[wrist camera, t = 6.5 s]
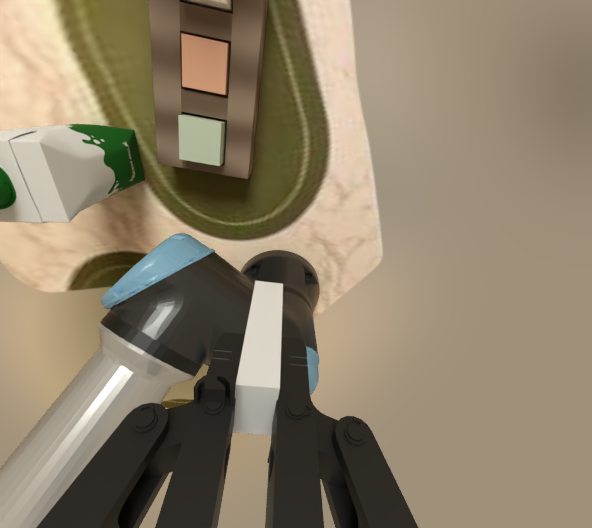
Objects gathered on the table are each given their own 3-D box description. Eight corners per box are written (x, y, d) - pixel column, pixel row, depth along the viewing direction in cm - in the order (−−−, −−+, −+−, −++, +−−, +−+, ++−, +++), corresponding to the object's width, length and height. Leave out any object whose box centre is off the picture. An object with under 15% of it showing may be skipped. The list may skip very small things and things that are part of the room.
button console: (252, 171, 44) (247, 179, 39) (171, 157, 42) (157, 163, 38) (272, -45, 32) (270, -69, 28) (163, -72, 31) (142, -101, 27)
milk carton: (74, 120, 40) (-95, 132, 22) (140, 123, 40) (24, 136, 23) (94, 184, 44) (-35, 235, 27) (153, 185, 44) (64, 237, 27)
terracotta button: (230, 95, 37) (225, 94, 34) (191, 88, 36) (182, 86, 33) (233, 48, 35) (227, 43, 32) (191, 39, 34) (181, 33, 31)
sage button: (224, 161, 39) (219, 166, 36) (188, 155, 39) (179, 159, 36) (226, 121, 37) (221, 123, 34) (187, 114, 37) (178, 115, 34)
